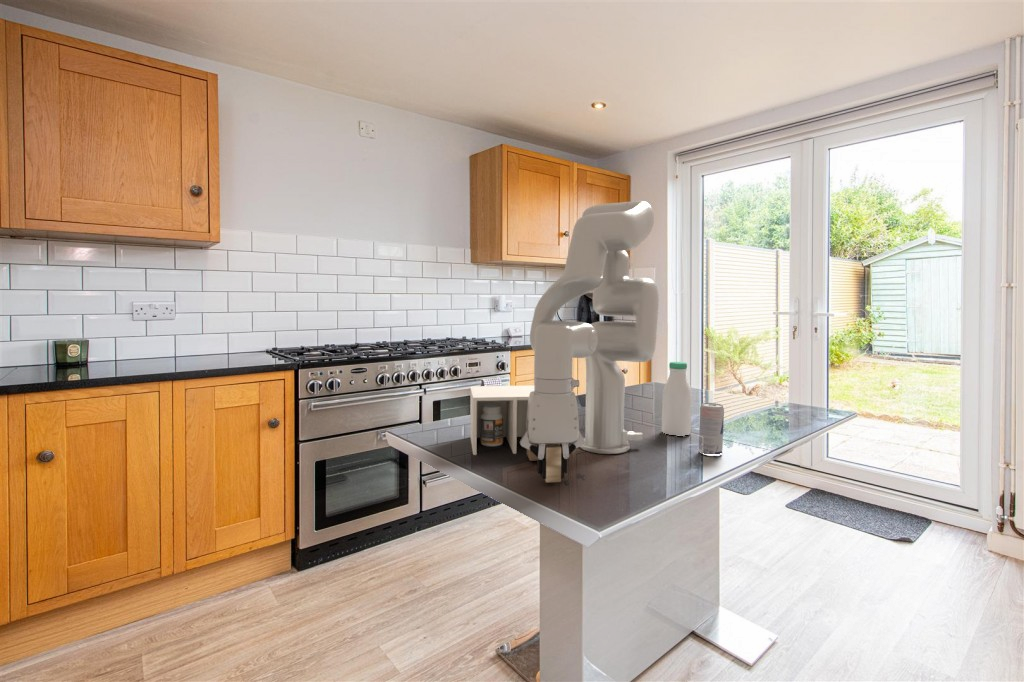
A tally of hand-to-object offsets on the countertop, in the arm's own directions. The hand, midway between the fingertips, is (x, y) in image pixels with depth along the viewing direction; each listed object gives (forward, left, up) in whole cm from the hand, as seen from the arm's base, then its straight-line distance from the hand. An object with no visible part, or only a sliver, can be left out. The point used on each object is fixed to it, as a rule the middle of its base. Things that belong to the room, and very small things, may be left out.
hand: (552, 475), depth 104 cm
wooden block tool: (0, -8, -1) cm, 8 cm away
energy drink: (-42, -16, -2) cm, 45 cm away
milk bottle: (-42, -35, -2) cm, 55 cm away
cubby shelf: (+5, -29, -2) cm, 29 cm away
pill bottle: (+10, -30, -2) cm, 31 cm away
